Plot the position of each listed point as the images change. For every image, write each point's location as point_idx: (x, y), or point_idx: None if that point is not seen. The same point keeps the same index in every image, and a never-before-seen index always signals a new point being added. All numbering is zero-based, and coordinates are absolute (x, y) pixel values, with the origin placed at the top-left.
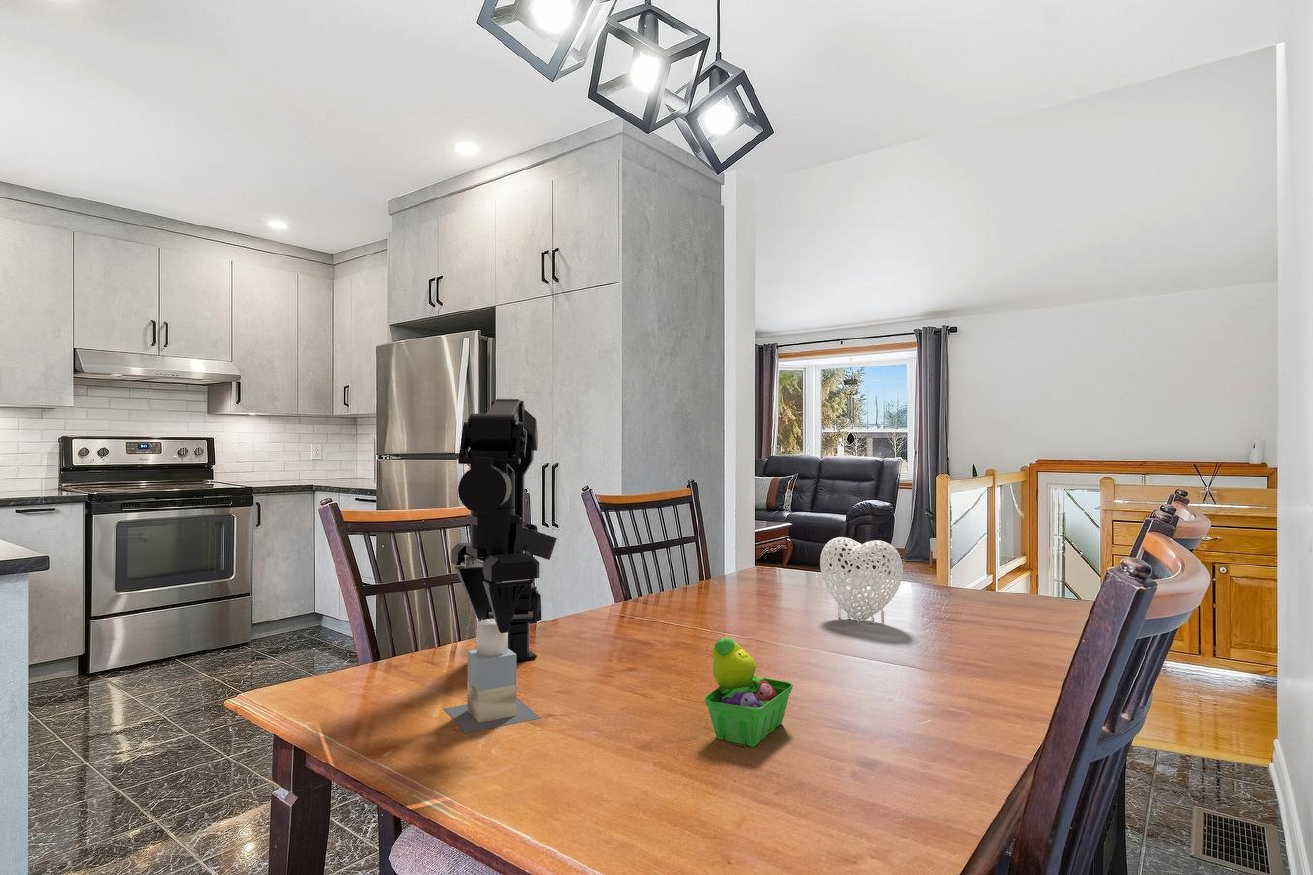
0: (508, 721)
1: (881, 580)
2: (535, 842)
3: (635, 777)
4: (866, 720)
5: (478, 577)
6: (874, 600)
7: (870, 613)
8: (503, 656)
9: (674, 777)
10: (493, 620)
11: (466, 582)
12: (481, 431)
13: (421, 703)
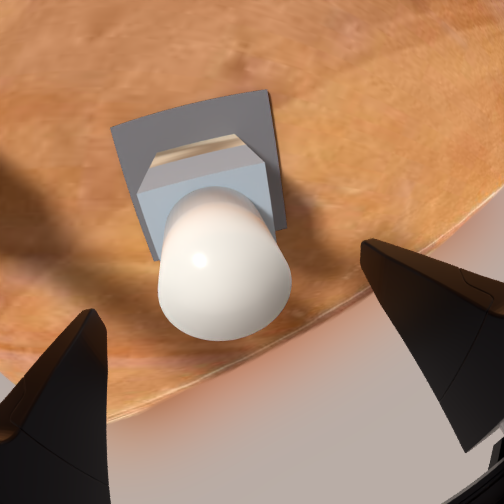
0: (261, 152)
1: None
2: (498, 191)
3: (471, 64)
4: None
5: (64, 483)
6: None
7: None
8: (270, 204)
9: (479, 34)
10: (194, 290)
11: (105, 486)
12: None
13: (106, 290)
